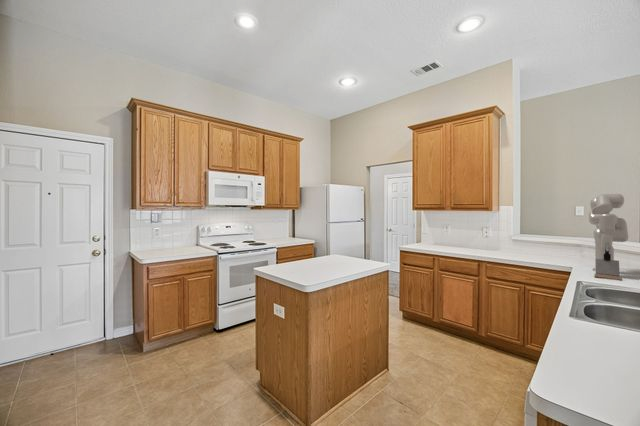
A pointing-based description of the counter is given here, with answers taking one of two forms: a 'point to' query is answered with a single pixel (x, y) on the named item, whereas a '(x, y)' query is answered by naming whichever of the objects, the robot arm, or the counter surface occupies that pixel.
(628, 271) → the counter surface
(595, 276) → the hinge base
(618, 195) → the robot arm
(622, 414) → the counter surface
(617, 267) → the hinge leaf
